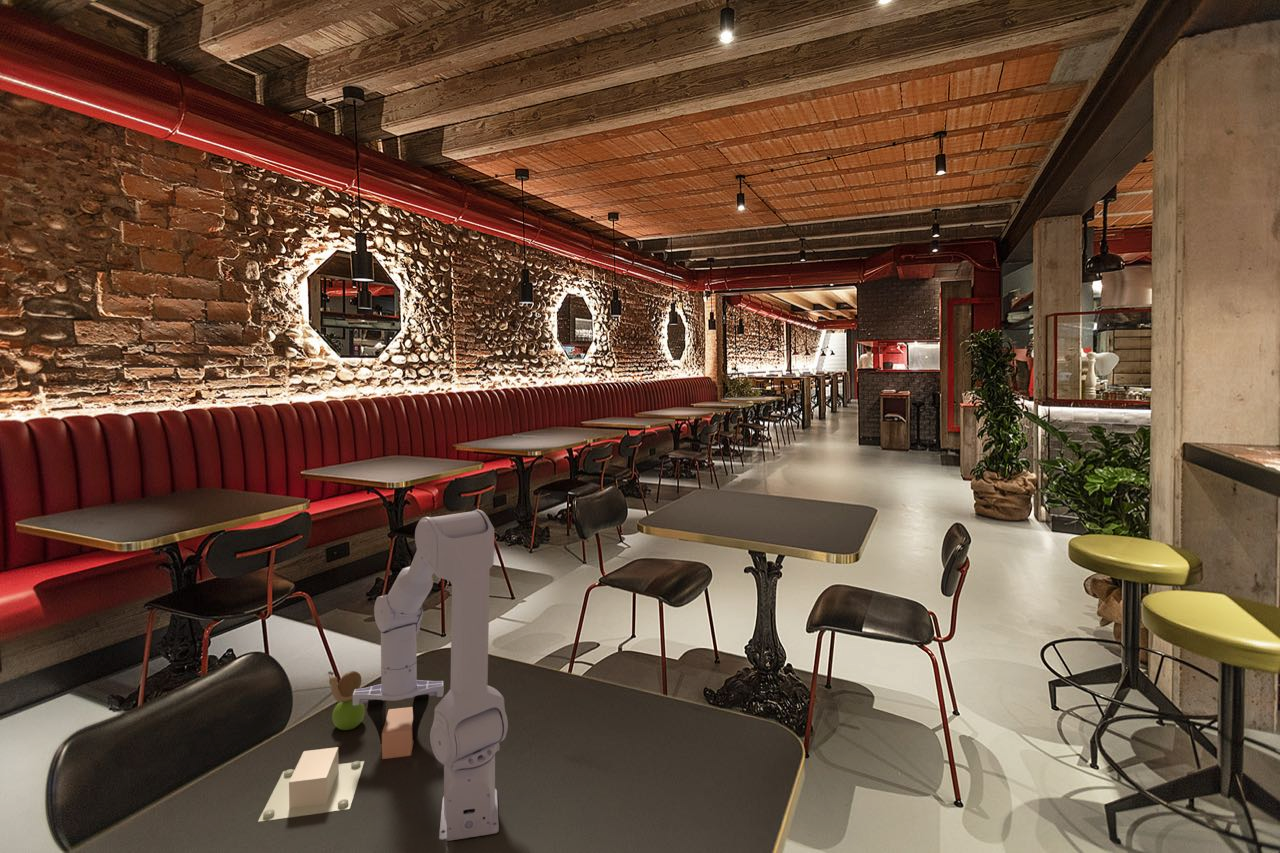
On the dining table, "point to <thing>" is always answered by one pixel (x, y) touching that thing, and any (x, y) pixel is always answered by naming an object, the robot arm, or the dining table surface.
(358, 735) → the dining table surface
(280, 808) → the baseplate
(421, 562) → the robot arm
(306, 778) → the bottom brick
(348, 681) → the snail figurine
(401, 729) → the top brick
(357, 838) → the dining table surface
